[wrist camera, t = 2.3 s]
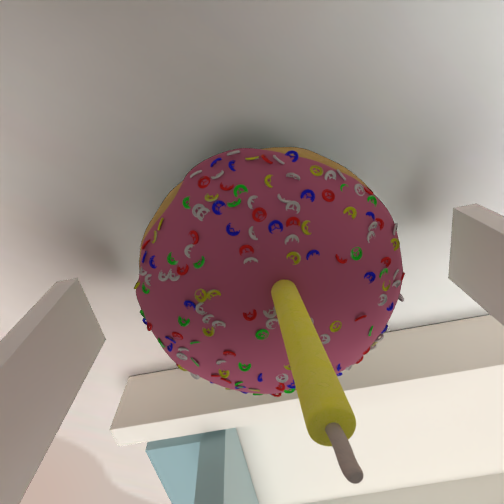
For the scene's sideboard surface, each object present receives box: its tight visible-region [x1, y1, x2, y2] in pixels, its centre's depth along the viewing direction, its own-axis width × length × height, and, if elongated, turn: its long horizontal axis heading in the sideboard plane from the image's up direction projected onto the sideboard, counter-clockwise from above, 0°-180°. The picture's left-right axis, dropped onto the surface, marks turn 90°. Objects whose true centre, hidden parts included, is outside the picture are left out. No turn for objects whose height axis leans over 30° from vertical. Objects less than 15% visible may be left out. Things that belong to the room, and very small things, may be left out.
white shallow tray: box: [110, 315, 504, 504], centre depth 20 cm, size 14×25×3 cm, turn 100°
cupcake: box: [134, 147, 405, 484], centre depth 10 cm, size 9×8×12 cm
